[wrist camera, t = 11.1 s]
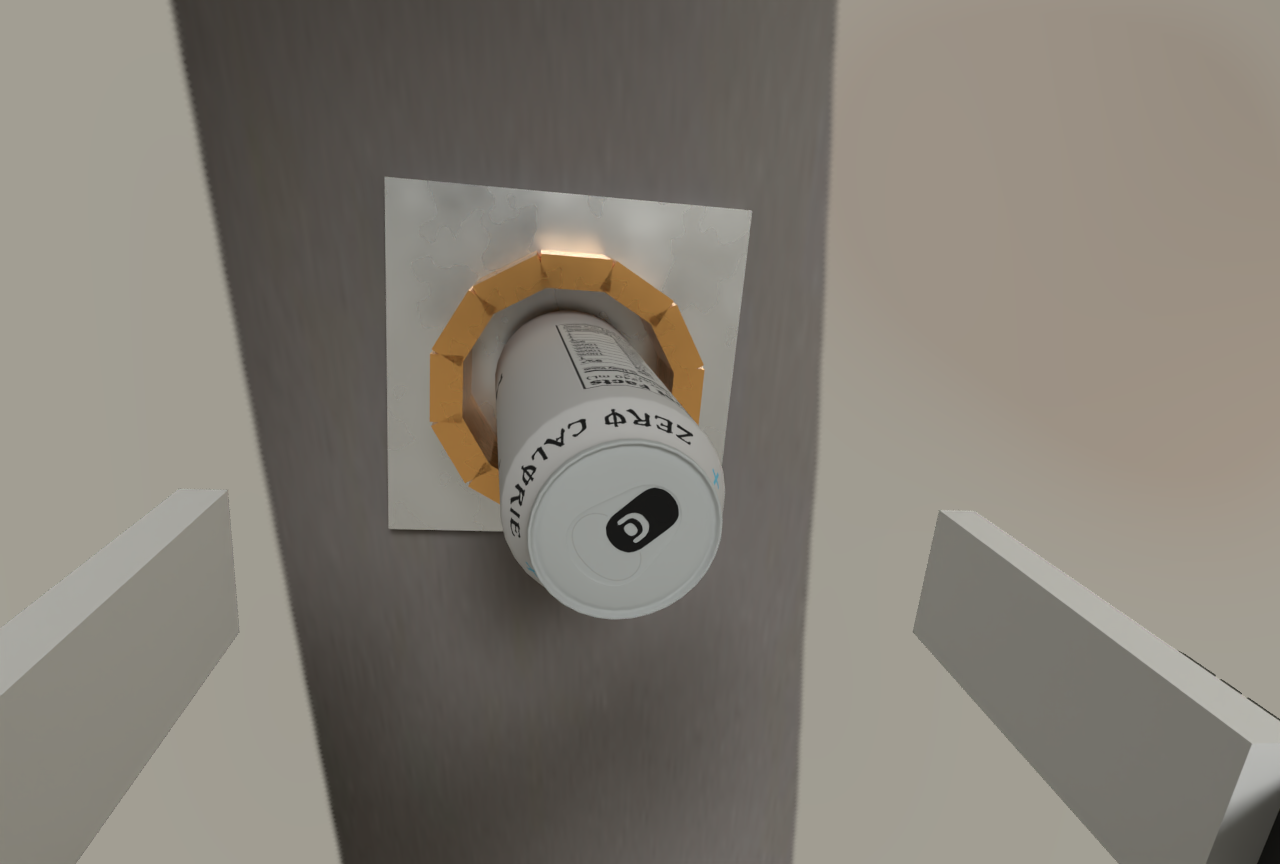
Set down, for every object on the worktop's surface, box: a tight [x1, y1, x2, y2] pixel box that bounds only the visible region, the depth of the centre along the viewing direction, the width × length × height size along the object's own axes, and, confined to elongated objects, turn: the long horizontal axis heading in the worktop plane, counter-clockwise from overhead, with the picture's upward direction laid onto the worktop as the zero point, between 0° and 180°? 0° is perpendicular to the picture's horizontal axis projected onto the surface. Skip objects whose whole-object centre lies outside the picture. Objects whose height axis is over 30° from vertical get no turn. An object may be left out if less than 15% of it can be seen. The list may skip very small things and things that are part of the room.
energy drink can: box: [495, 310, 725, 620], centre depth 24 cm, size 6×6×15 cm
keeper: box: [385, 177, 752, 531], centre depth 30 cm, size 15×15×5 cm
